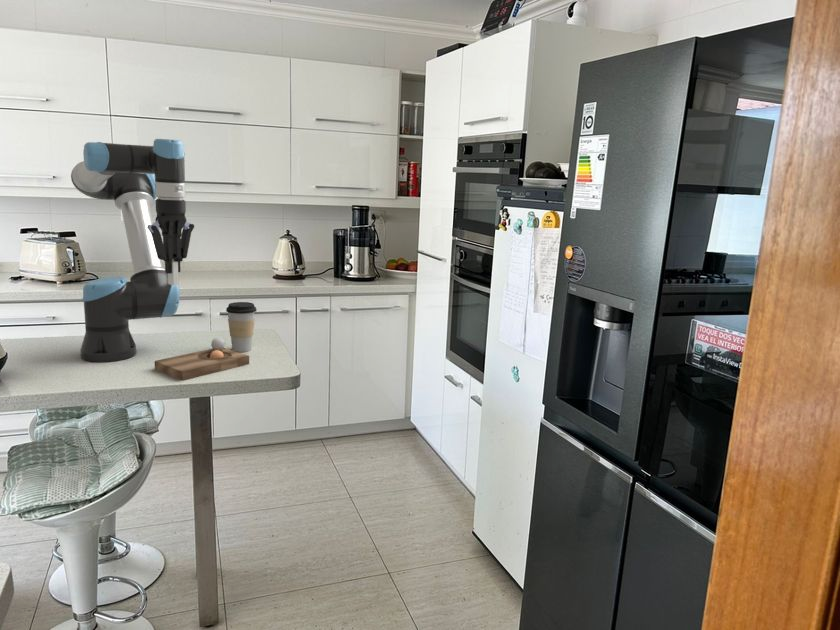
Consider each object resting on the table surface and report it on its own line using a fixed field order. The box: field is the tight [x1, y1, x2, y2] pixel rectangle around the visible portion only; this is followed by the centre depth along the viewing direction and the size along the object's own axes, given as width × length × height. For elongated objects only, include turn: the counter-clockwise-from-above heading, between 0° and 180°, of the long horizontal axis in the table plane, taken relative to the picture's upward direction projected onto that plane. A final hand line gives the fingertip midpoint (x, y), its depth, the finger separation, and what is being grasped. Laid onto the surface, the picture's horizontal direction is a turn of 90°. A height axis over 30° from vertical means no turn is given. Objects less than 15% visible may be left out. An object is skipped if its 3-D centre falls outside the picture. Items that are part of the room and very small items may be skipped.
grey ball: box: [210, 337, 226, 351], centre depth 187 cm, size 4×4×4 cm
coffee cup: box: [225, 301, 257, 353], centre depth 197 cm, size 9×9×15 cm
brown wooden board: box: [154, 347, 250, 381], centre depth 179 cm, size 14×22×2 cm, turn 143°
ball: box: [210, 350, 224, 358], centre depth 182 cm, size 4×4×4 cm
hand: (173, 284), depth 170 cm, fingers closed
